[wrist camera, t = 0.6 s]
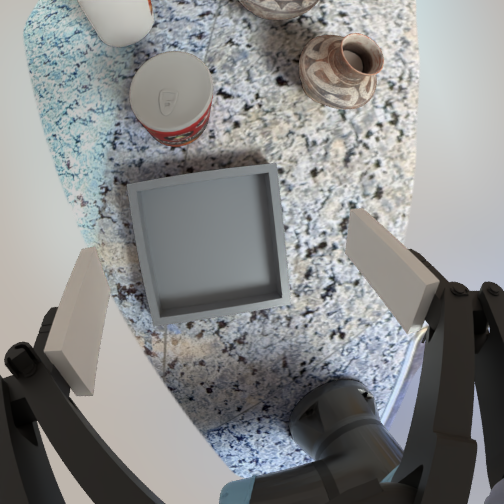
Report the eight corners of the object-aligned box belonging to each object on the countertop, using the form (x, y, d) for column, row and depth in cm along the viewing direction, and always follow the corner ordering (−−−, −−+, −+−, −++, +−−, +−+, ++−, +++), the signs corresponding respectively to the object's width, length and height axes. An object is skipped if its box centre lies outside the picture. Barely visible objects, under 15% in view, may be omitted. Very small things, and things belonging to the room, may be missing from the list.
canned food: (151, 153, 35) (133, 139, 24) (143, 93, 33) (125, 60, 23) (214, 141, 36) (220, 122, 25) (204, 81, 34) (207, 44, 24)
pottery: (306, 132, 38) (348, 113, 26) (211, -8, 31) (218, -61, 20) (370, 101, 38) (421, 80, 27) (279, -28, 32) (301, -75, 20)
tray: (284, 296, 41) (291, 304, 38) (156, 316, 39) (153, 326, 36) (270, 164, 38) (276, 163, 35) (132, 184, 35) (126, 184, 32)
